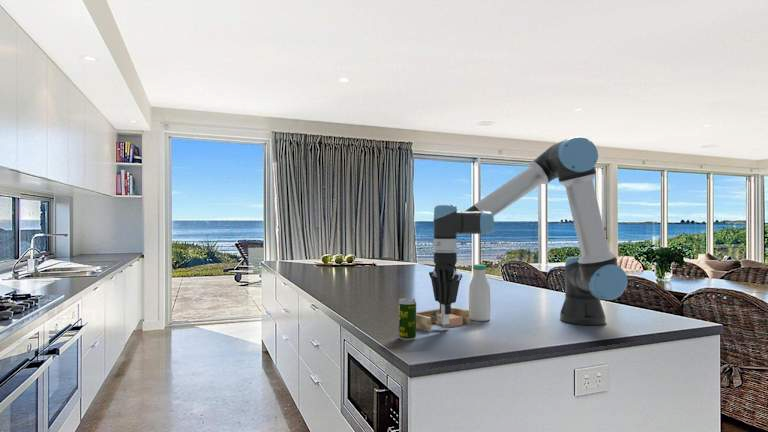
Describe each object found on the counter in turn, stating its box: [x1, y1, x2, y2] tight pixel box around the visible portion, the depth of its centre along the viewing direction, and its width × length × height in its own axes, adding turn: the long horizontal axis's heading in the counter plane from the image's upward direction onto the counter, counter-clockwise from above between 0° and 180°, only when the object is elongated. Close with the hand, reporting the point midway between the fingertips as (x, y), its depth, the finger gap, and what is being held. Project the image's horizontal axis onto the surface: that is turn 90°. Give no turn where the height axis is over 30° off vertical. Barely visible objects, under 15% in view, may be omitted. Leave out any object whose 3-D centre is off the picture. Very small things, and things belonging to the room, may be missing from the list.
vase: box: [430, 311, 451, 330], centre depth 155 cm, size 5×5×6 cm
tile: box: [449, 314, 464, 328], centre depth 162 cm, size 6×6×3 cm
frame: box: [416, 306, 471, 333], centre depth 161 cm, size 9×20×4 cm, turn 129°
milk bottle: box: [468, 263, 491, 322], centre depth 170 cm, size 8×8×20 cm
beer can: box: [398, 297, 417, 342], centre depth 142 cm, size 5×5×12 cm
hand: (445, 323), depth 152 cm, fingers closed
